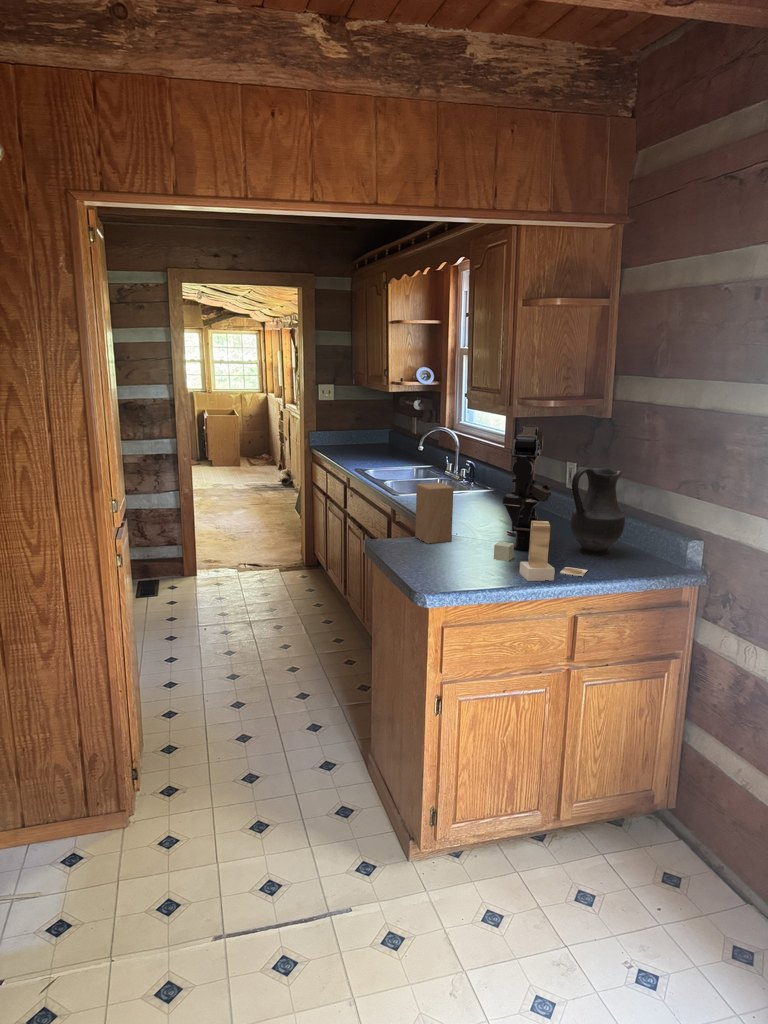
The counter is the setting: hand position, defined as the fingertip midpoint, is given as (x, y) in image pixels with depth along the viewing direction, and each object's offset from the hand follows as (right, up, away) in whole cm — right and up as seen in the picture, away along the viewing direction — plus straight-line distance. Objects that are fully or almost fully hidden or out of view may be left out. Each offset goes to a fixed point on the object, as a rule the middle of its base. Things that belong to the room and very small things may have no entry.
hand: (520, 525), depth 226 cm
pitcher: (+27, -10, +17) cm, 33 cm away
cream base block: (+3, -16, -9) cm, 19 cm away
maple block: (+3, -12, -10) cm, 16 cm away
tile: (+15, -15, -5) cm, 22 cm away
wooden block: (-26, -6, +33) cm, 42 cm away
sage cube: (-4, -11, +10) cm, 15 cm away
